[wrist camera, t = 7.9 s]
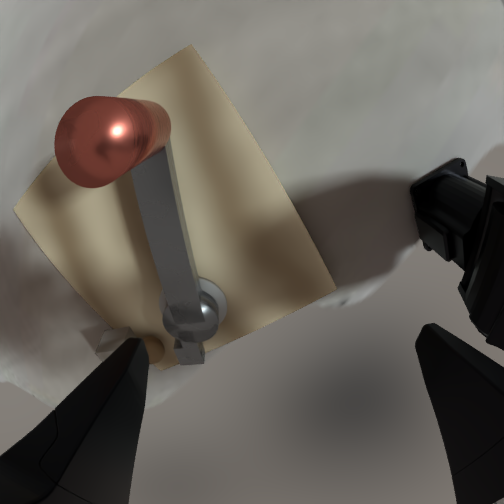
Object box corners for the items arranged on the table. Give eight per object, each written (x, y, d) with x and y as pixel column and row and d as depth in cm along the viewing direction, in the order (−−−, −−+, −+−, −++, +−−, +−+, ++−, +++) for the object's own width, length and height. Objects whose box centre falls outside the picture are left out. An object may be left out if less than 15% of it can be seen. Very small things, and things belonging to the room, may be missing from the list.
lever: (179, 94, 14) (137, 80, 7) (228, 348, 23) (230, 426, 16) (114, 110, 14) (40, 117, 7) (182, 352, 23) (172, 428, 16)
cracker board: (193, 48, 14) (183, 31, 10) (332, 280, 22) (349, 311, 19) (11, 218, 17) (-16, 237, 14) (148, 367, 26) (141, 398, 23)
